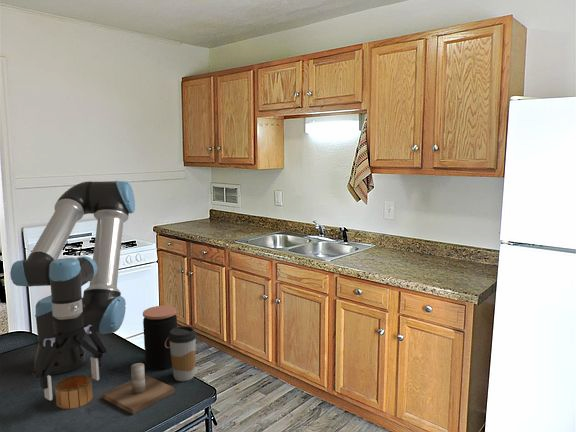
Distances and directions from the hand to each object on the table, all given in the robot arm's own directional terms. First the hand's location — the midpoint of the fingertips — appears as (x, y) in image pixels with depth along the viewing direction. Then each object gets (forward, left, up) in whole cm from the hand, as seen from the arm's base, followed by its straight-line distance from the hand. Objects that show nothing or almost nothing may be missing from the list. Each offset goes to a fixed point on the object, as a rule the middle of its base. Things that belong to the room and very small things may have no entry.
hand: (73, 388), depth 129 cm
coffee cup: (+15, +27, -4) cm, 31 cm away
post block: (+13, +12, -4) cm, 18 cm away
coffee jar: (+2, +29, -4) cm, 30 cm away
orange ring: (0, 0, -4) cm, 4 cm away
